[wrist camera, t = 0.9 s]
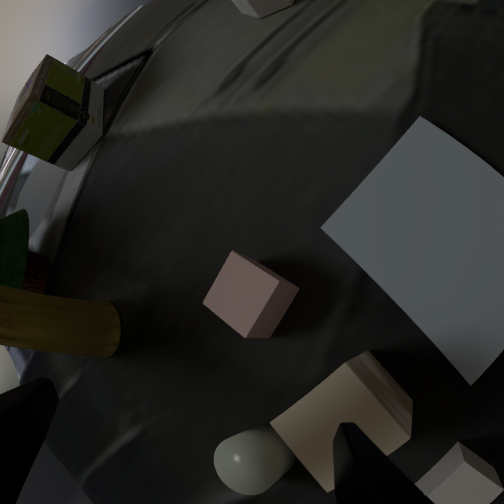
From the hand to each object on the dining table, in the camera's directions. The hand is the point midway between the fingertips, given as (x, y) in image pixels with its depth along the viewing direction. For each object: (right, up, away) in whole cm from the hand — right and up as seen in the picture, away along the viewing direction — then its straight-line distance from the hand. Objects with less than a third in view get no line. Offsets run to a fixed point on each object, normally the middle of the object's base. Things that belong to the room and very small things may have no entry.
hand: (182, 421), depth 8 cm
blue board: (+15, +6, +9) cm, 18 cm away
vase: (-14, -4, +23) cm, 27 cm away
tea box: (-27, +26, +38) cm, 54 cm away
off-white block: (+15, -9, +4) cm, 18 cm away
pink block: (+3, +1, +14) cm, 15 cm away
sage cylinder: (+3, -9, +11) cm, 15 cm away
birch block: (+9, -4, +9) cm, 14 cm away
